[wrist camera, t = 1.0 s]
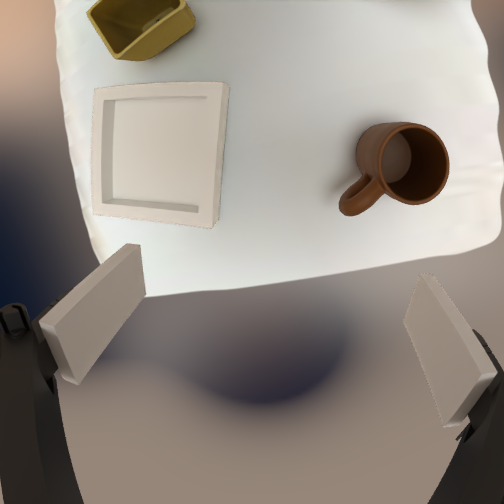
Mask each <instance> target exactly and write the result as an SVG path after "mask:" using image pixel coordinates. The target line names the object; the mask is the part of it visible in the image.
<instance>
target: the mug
mask: <svg viewBox="0 0 504 504" xmlns="http://www.w3.org/2000/svg"><path fill="white" fill-rule="evenodd" d="M356 159H357V164H358V167H359V169H360V171H361V173H362V174H363V176H362V177H361V178H360V179H359V180H358V181H357V182H355V183H354V184H353V185H352V186H350V187H349V188H348V189H347V190H346V191H345V192H344V193H343V195H342V196H341V198H340V200H339V210H340V211H341V212H342V213H343V214H344V215H346V216H355V215H358V214H360V213H362V212H364V211H365V210H367V209H368V208H370V207H371V206H372V205H373V204H374V203H375V202H376V201H377V200H378V199H379V198H380V197H381V196H382V195H383V194H384V193H385V194H387V195H388V196H390V197H392V198H393V199H395V200H398V201H400V202H402V203H405V204H409V205H420V204H424V203H427V202H429V201H431V200H432V199H434V198H435V197H436V196H437V195H438V194H439V193H440V192H441V191H442V189H443V188H444V186H445V184H446V182H447V179H448V175H449V157H448V153H447V150H446V147H445V145H444V143H443V142H442V140H441V139H440V137H439V136H438V135H437V134H436V133H435V132H434V131H432V130H431V129H430V128H428V127H426V126H423V125H421V124H416V123H410V122H393V123H383V124H378V125H375V126H373V127H371V128H369V129H368V130H367V131H365V133H364V134H363V135H362V136H361V138H360V140H359V142H358V145H357V149H356Z"/></svg>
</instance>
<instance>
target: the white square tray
mask: <svg viewBox="0 0 504 504" xmlns="http://www.w3.org/2000/svg"><path fill="white" fill-rule="evenodd" d="M229 91H230V87H229V86H228V85H227V84H225V83H224V82H163V83H146V84H133V85H122V86H113V87H105V88H97V89H94V101H93V115H92V138H91V183H92V207H93V215H100V216H109V217H118V218H127V219H136V220H145V221H153V222H161V223H170V224H178V225H186V226H194V227H202V228H210V229H212V228H213V226H214V225H215V224H216V223H217V221H218V220H219V208H220V194H221V180H222V167H223V155H224V143H225V132H226V121H227V111H228V100H229Z"/></svg>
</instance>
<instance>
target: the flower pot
mask: <svg viewBox="0 0 504 504" xmlns="http://www.w3.org/2000/svg"><path fill="white" fill-rule="evenodd" d="M87 17H88V18H89V20H90V21H91V23H92V25H93V26H94V28H95V29H96V31H97V33H98V34H99V36H100V37H101V39H102V40H103V42H104V44H105V45H106V47H107V49H108V50H109V52H110V53H111V55H112V56H113V57H114V58H115V59H119V60H130V61H144V60H147V59H150V58H152V57H154V56H155V55H157V54H159V53H160V52H161V51H163V50H164V49H165V48H167V47H168V46H169V45H171V44H172V43H173V42H175V41H176V40H177V39H179V38H180V37H182V36H183V35H185V34H186V33H188V32H189V31H190V30H191V29H192V28H193V27H194V26H195V22H196V20H195V17H194V15H193V13H192V11H191V10H190V8H189V6H188V5H187V3H186V1H185V0H98V1H97V2H96V3H95V4H94V5H93V6H92V7H91V8H90V9H89V10H88V11H87ZM159 19H161V20H160V21H158V20H159ZM157 21H158V22H157Z"/></svg>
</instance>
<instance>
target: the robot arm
mask: <svg viewBox="0 0 504 504" xmlns="http://www.w3.org/2000/svg"><path fill="white" fill-rule="evenodd" d="M145 295H146V290H145V282H144V274H143V266H142V257H141V248H140V245H137V244H125V245H124V246H123V247H122V248H120V249H119V250H118V251H117V252H116V253H114V254H113V255H112V256H111V257H110V258H108V259H107V260H106V261H105V262H104V263H102V264H101V265H100V266H99V267H98V268H97V269H95V270H94V271H93V272H92V273H91V274H90V275H89V276H87V277H86V278H85V279H84V280H83V281H82V282H81V283H79V284H78V285H77V286H76V287H75V288H72V289H70V290H68V291H66V292H64V293H62V294H61V295H60V296H59V297H58V298H57V299H56V301H53V302H52V303H51V304H50V306H48V307H47V308H46V309H45V310H44V311H43V312H42V313H41V314H39V315H38V316H37V317H36V318H35V319H34V320H33V321H32V322H31V321H30V318H29V316H28V314H27V310H26V308H25V306H24V305H23V304H20V303H12V304H9V305H6V306H5V307H3V308H1V310H0V329H1V331H2V332H0V479H1V487H2V494H3V500H4V504H84V502H83V499H82V496H81V493H80V490H79V487H78V484H77V481H76V477H75V473H74V470H73V467H72V463H71V459H70V454H69V451H68V446H67V442H66V437H65V432H64V427H63V422H62V416H61V410H60V404H59V397H58V389H57V382H56V378H55V376H54V373H55V371H56V370H57V369H59V371H60V373H61V375H62V377H63V379H64V380H67V381H69V382H72V383H74V384H77V385H79V384H80V382H81V381H82V379H83V378H84V377H85V375H86V374H87V372H88V371H89V370H90V368H91V367H92V365H93V364H94V363H95V361H96V360H97V358H98V357H99V356H100V354H101V353H102V352H103V350H104V349H105V347H106V346H107V345H108V343H109V342H110V341H111V339H112V338H113V337H114V335H115V334H116V333H117V331H118V330H119V329H120V327H121V326H122V325H123V324H124V322H125V321H126V320H127V318H128V317H129V316H130V314H131V313H132V312H133V310H134V309H135V308H136V307H137V305H138V304H139V303H140V301H141V300H142V299H143V298H144V296H145ZM403 323H404V325H405V327H406V330H407V332H408V334H409V337H410V339H411V341H412V344H413V345H414V349H415V351H416V353H417V355H418V358H419V361H420V363H421V366H422V368H423V371H424V374H425V376H426V379H427V382H428V384H429V387H430V390H431V392H432V395H433V398H434V401H435V404H436V407H437V410H438V412H439V416H440V419H441V422H442V425H443V427H444V428H445V427H451V426H457V425H460V424H461V422H462V421H463V420H464V419H465V417H466V416H467V415H468V417H469V419H470V423H469V424H468V425H467V426H466V427H465V429H464V430H463V431H462V432H461V434H460V435H459V436H458V437H457V438H456V440H457V441H458V439H460V437H462V438H461V440H460V442H459V445H458V447H457V449H456V451H455V453H454V456H453V458H452V460H451V462H450V464H449V466H448V468H447V470H446V472H445V474H444V476H443V477H442V479H441V481H440V483H439V485H438V487H437V488H436V490H435V492H434V494H433V495H432V497H431V499H430V500H429V502H428V504H504V371H503V369H502V368H501V366H500V364H499V363H498V361H497V359H496V358H495V356H494V355H493V354H492V351H491V350H490V348H489V347H488V345H487V343H486V342H485V340H484V339H483V337H482V336H481V335H480V334H479V333H477V332H476V331H475V330H474V329H473V330H472V329H471V328H470V326H469V325H468V323H467V322H466V320H465V319H464V317H463V316H462V315H461V313H460V311H459V310H458V309H457V307H456V306H455V305H454V303H453V302H452V300H451V299H450V297H449V296H448V295H447V294H446V292H445V291H444V289H443V288H442V286H441V285H440V284H439V282H438V281H437V280H436V279H435V277H434V276H433V275H432V274H421V273H419V275H418V279H417V282H416V285H415V288H414V291H413V294H412V297H411V300H410V303H409V306H408V309H407V312H406V315H405V317H404V320H403Z"/></svg>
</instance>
